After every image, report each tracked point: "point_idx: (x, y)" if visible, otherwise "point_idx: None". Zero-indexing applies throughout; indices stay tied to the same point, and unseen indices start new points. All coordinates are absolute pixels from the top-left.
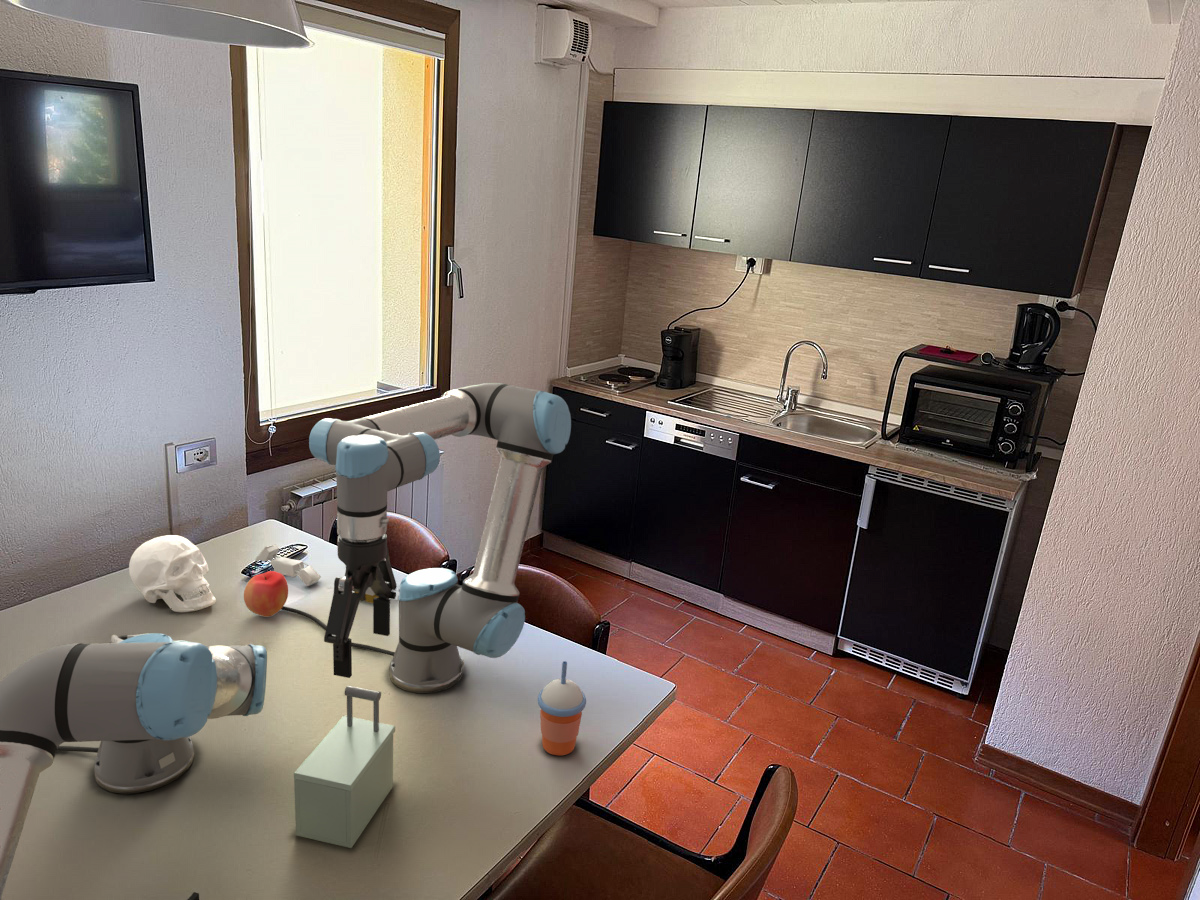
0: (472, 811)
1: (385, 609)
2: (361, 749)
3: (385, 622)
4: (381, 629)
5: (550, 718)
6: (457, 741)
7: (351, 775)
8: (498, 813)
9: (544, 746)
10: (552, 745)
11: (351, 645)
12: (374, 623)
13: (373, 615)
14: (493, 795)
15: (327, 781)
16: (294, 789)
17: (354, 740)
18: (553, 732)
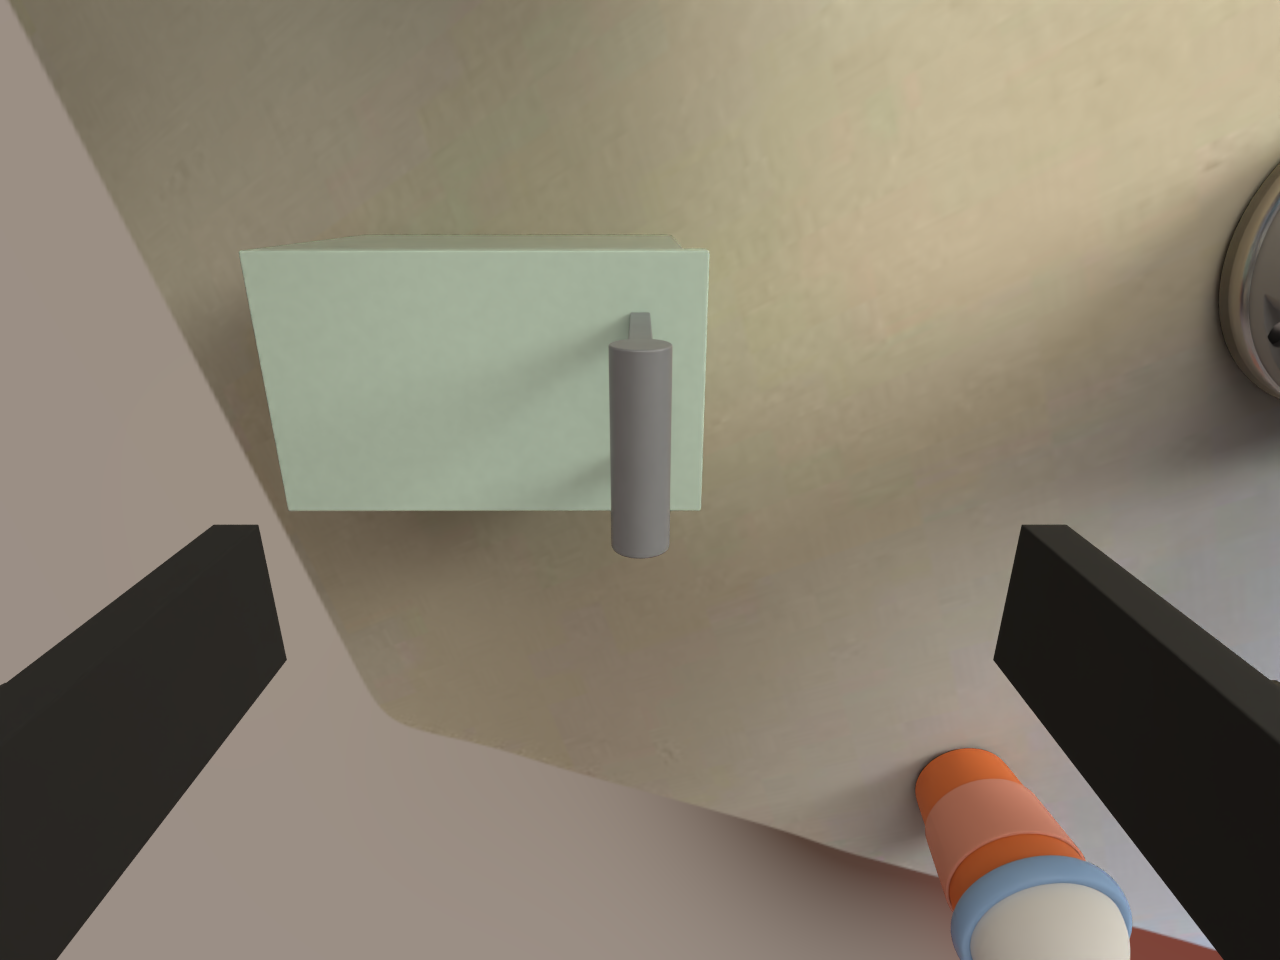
0: (638, 659)
1: (1199, 883)
2: (499, 452)
3: (1077, 736)
4: (1037, 636)
5: (959, 880)
6: (935, 524)
7: (337, 489)
8: (651, 717)
9: (937, 767)
10: (925, 804)
11: (68, 941)
12: (1084, 598)
13: (1157, 646)
14: (714, 688)
15: (270, 413)
16: (280, 245)
17: (545, 395)
18: (936, 848)
